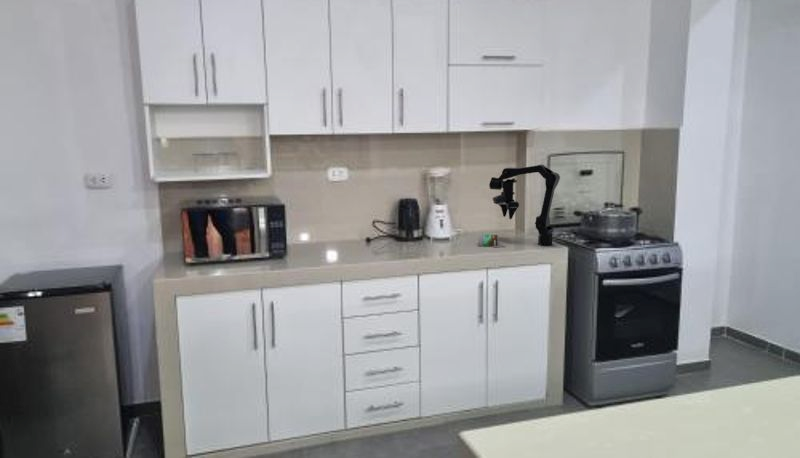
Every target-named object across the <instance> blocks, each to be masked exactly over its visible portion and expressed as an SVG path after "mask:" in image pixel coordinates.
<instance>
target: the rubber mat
mask: <svg viewBox="0 0 800 458" xmlns="http://www.w3.org/2000/svg"><path fill="white" fill-rule="evenodd" d="M491 247H492V248H493V249H494V248H506V245H504V244H503V243H500V242H499V241H498V245H497V246H491Z"/></svg>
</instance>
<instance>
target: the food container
mask: <svg viewBox="0 0 800 458" xmlns="http://www.w3.org/2000/svg"><path fill="white" fill-rule="evenodd" d="M477 240H478V247H482V248H483V247H492V246H497V245H498V242H499V235H498V234H491V233H490V234H488V233H486V234H485V233H483V232H481V233H478V239H477Z"/></svg>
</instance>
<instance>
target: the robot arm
mask: <svg viewBox="0 0 800 458" xmlns="http://www.w3.org/2000/svg"><path fill="white" fill-rule="evenodd" d="M534 173H538V174H540V176H541V177H542V178H544V180H545V191H544V192H545V193H544V198H543V202H542V206H541V211H540V212H541V213H540V214H539V215H538V216H536V217H535V222H534V225H535V229H536V230H537V232H538V234H539V235H538V239H537V241H538V242H537V244H538V245H540V246H541V247H542V246H543V247H544V246H554V244H553V233H554V228H553V227H552V225H551V223H550V222H551V219H550V212H551V207H552V203H553V200H554V194H555V190H556V188H557V186H558V184H559V182H560V180H561V176H560V174H559V173H558V172H555V171H553V170H551V169H550V168H548V167H547V166H545V165H544V164H538V165H533V166H532V165H531V166H525V167H524V166H523V167H504V168H503V169H502V171H501V174H500V175H499V177H496V176H495V177H491V178H490V181H489V184H488V185H489V189H490V190H494V191H495V190H497V191H498V190H499V191H500V190H502V191H501V192H500V195H496V196H494V197H492V201H493V204H495V205H498V206H499V207H500V210H501V213H502V216H503V217H504V218H505V217H506V216H507V214H508V218H509V220H512V219H513V217H514V214H516V211H517V210H518V208H519V207H520V203H519V201H516V200H515V199H514V195H515V193H516V192H514V184H516V183H518V180H517V179H516V178H515V177H518V176H520V175H526V174H534ZM511 178H512V179H511Z"/></svg>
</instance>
